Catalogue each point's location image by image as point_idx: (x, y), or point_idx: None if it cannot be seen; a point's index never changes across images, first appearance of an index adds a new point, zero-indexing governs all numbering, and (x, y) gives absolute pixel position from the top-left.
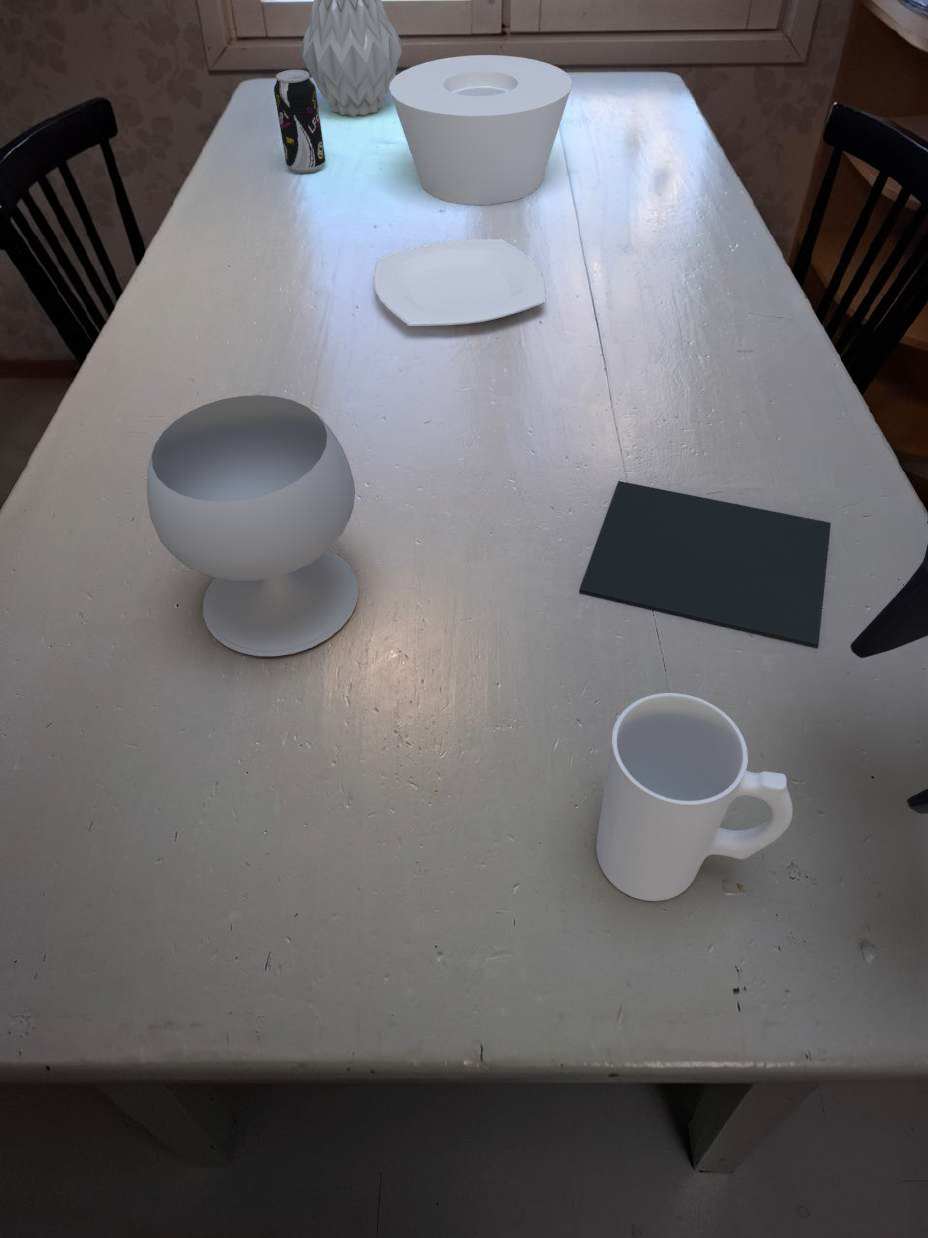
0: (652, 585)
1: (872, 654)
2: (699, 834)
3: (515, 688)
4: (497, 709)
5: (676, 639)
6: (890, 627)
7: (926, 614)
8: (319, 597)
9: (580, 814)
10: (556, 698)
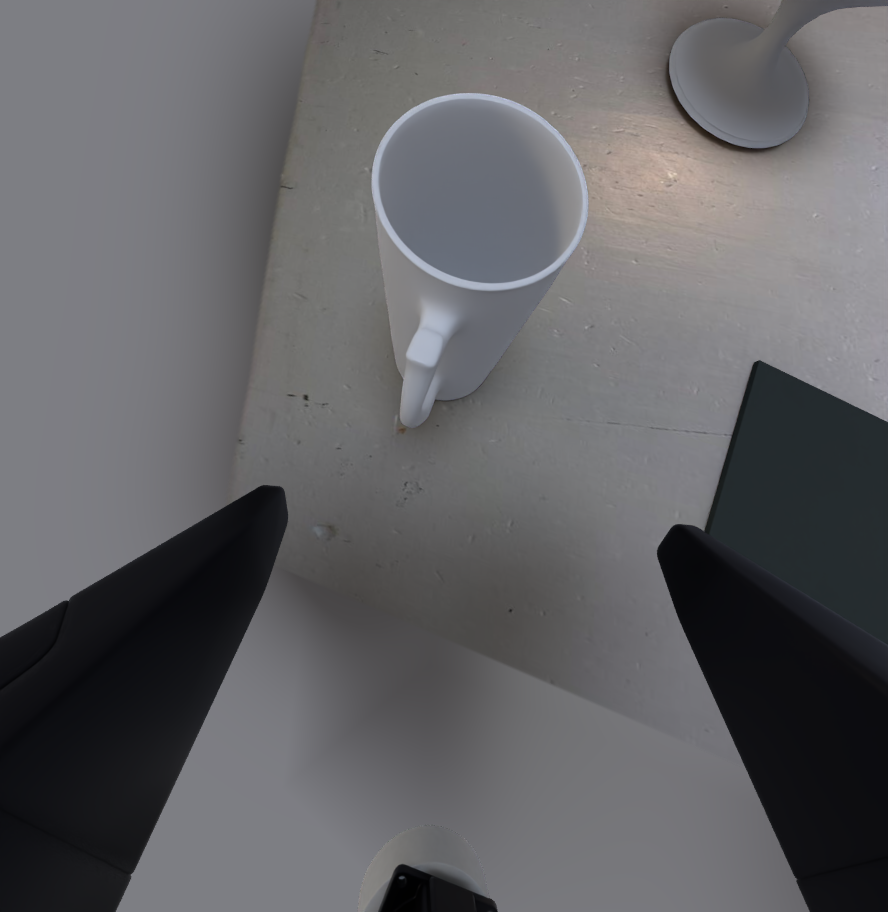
0: (768, 441)
1: (665, 572)
2: (383, 278)
3: (630, 276)
4: (606, 255)
5: (692, 450)
6: (757, 610)
7: (825, 742)
8: (740, 103)
9: None
10: (618, 311)
